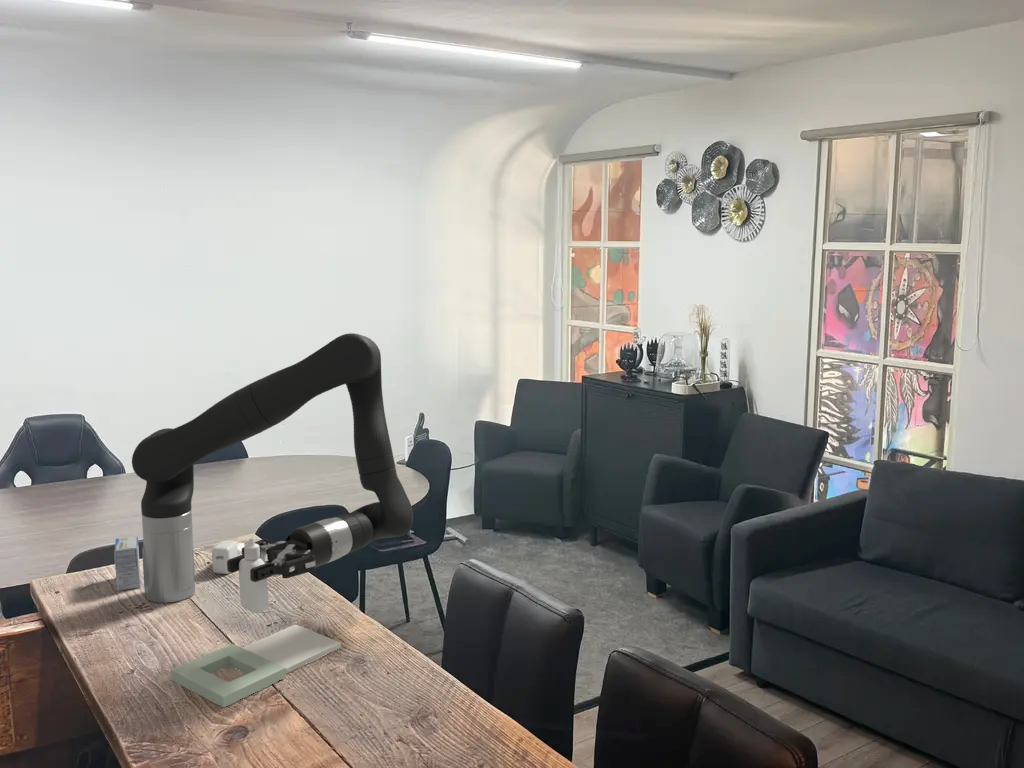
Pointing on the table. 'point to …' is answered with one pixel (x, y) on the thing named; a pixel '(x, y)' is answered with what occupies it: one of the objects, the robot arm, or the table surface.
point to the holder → (227, 693)
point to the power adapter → (225, 555)
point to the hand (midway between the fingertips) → (240, 571)
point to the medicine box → (127, 563)
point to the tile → (293, 647)
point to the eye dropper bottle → (252, 592)
